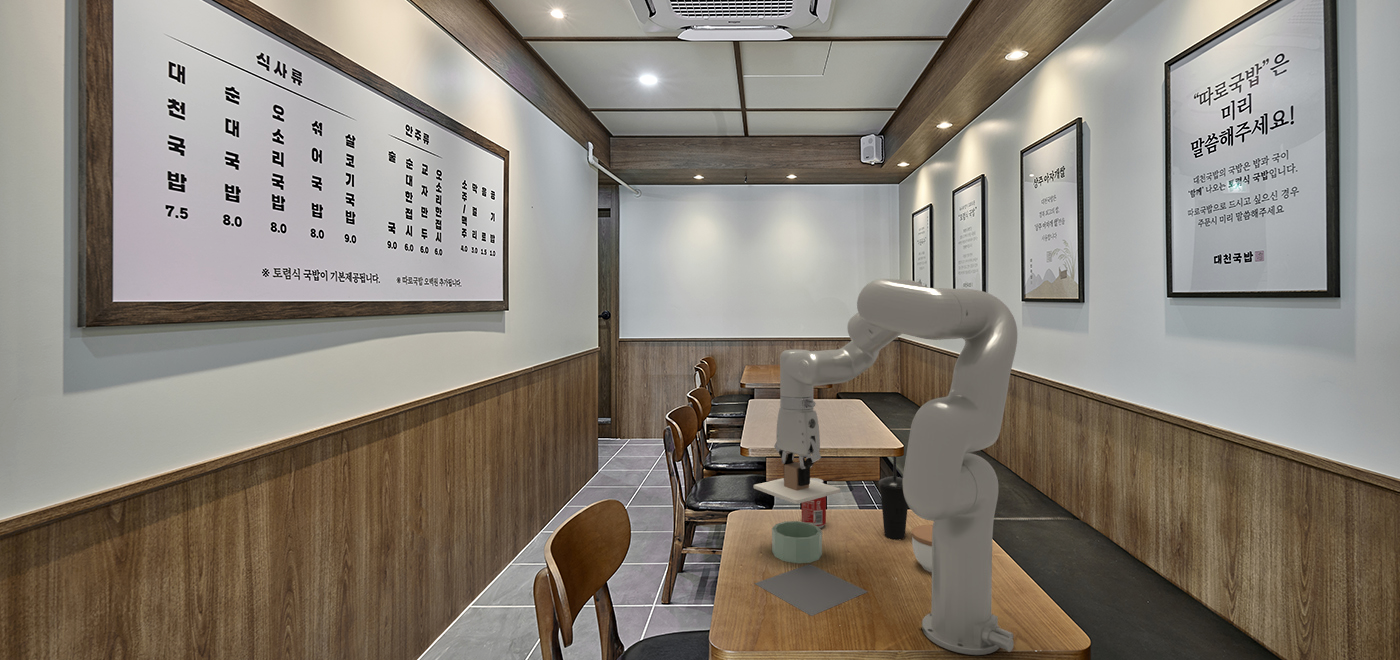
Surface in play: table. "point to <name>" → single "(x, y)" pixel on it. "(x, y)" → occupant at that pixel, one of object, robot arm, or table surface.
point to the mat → (811, 589)
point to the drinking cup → (893, 505)
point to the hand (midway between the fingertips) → (796, 481)
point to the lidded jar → (923, 545)
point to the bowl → (797, 542)
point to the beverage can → (815, 510)
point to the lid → (795, 487)
